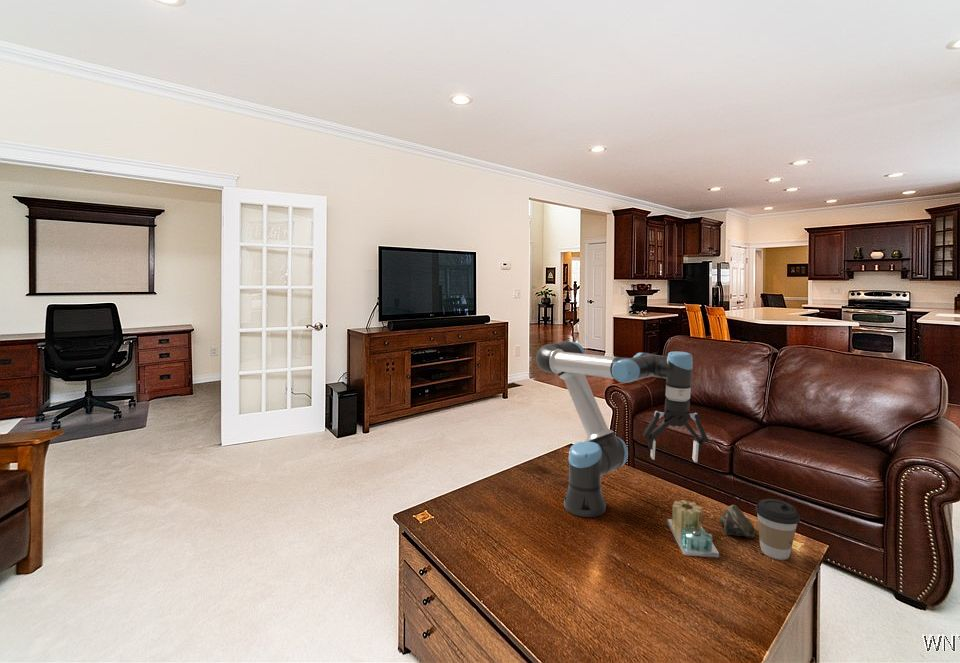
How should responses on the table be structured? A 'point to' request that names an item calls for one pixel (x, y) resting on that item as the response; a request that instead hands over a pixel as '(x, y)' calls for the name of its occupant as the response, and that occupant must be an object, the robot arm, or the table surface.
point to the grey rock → (737, 523)
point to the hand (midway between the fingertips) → (673, 459)
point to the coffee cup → (776, 527)
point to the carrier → (694, 541)
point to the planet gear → (686, 515)
